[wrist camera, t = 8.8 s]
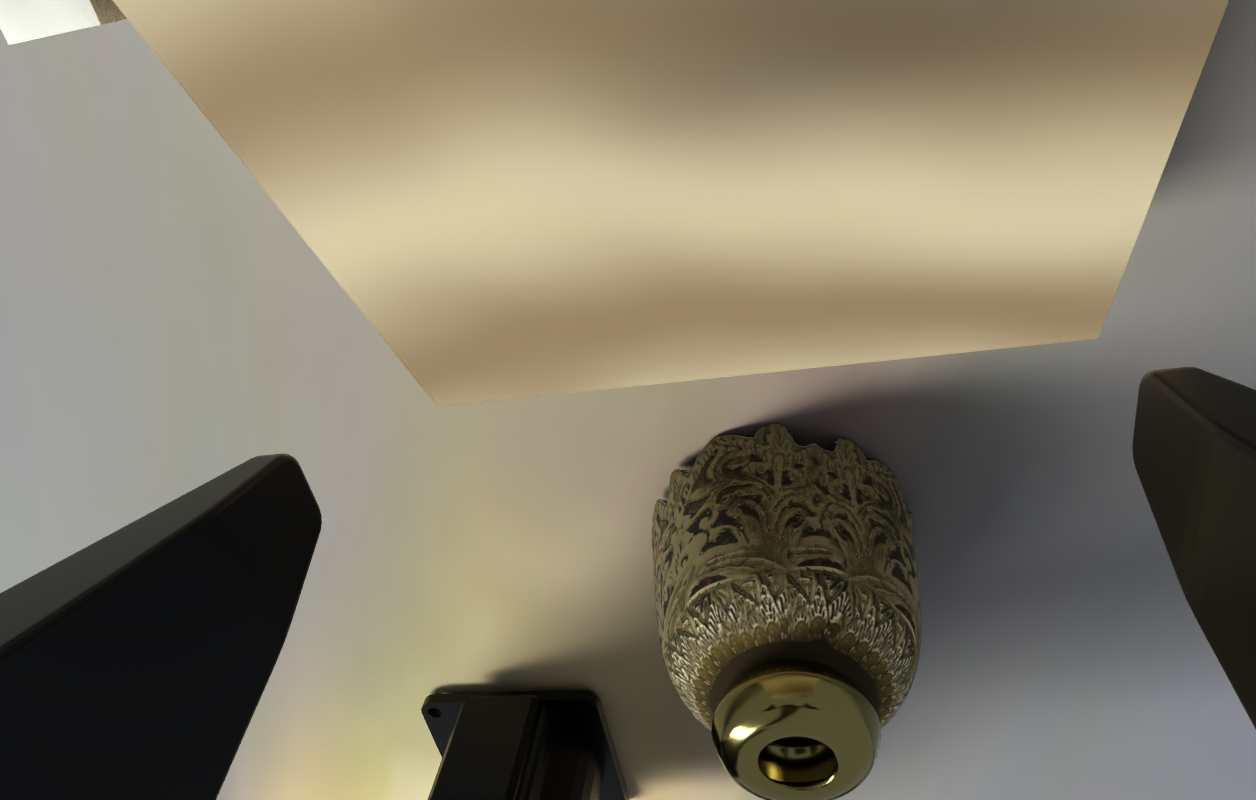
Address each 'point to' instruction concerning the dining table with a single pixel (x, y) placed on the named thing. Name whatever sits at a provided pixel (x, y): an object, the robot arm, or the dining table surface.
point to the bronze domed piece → (788, 608)
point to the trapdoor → (698, 171)
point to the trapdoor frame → (53, 17)
